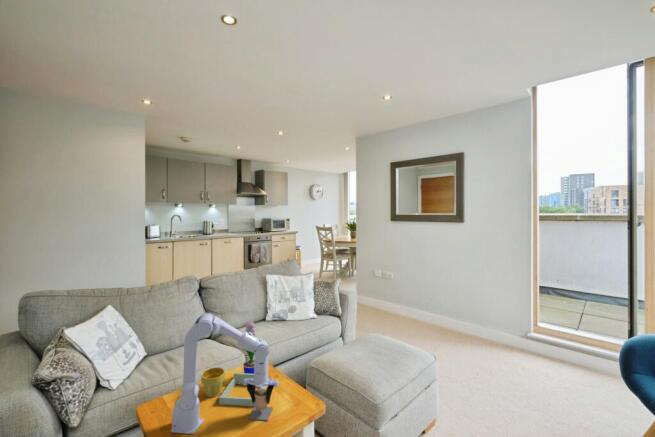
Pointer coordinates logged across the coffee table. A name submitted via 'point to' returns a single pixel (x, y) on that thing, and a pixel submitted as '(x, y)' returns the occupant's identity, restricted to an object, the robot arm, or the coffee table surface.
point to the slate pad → (261, 414)
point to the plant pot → (213, 381)
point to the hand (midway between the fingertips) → (261, 402)
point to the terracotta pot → (260, 399)
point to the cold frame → (240, 401)
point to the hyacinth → (250, 363)
